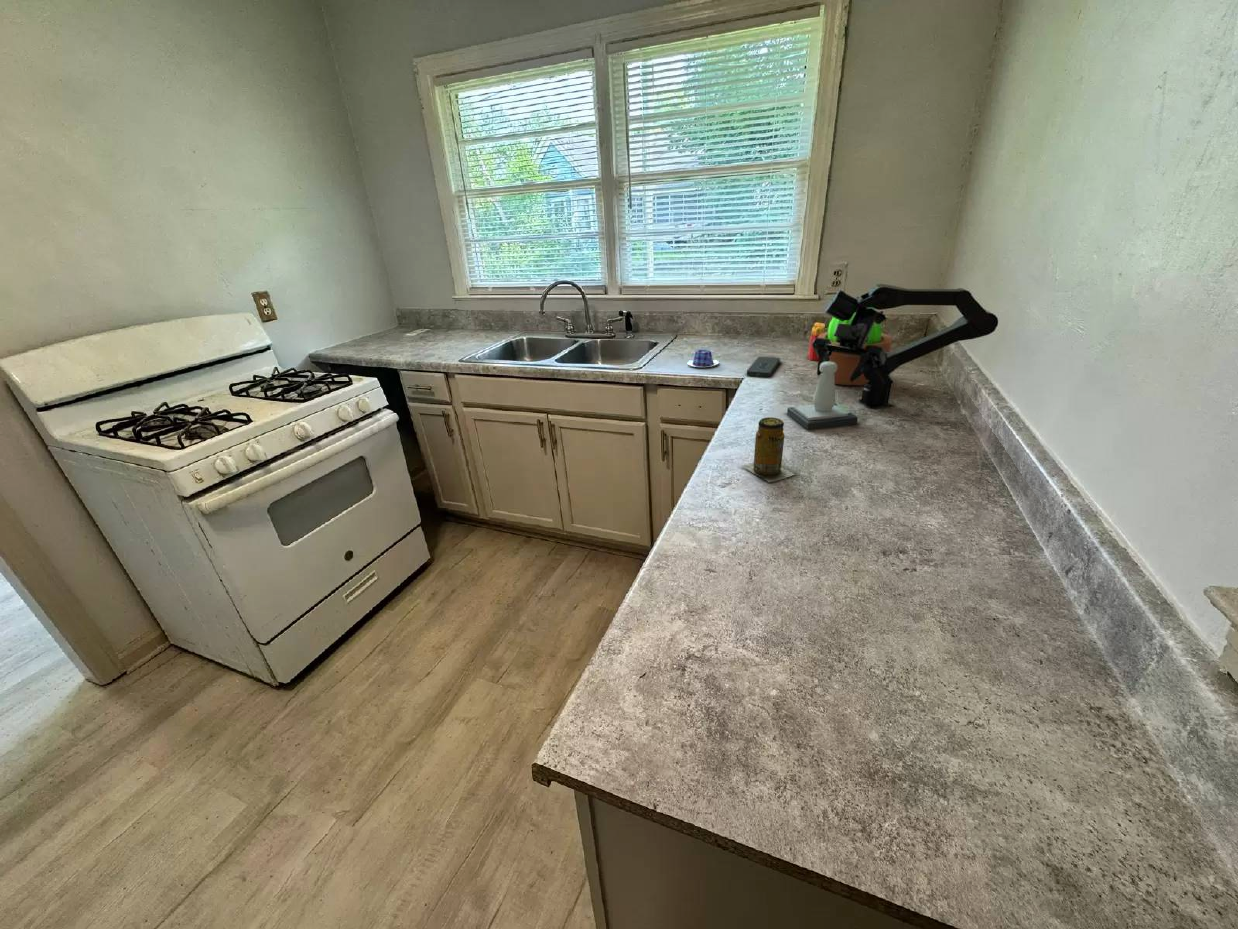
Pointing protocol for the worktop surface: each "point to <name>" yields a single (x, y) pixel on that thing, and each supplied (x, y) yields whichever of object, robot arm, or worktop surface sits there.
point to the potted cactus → (850, 362)
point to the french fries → (814, 334)
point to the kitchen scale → (821, 417)
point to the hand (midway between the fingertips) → (833, 377)
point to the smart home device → (763, 366)
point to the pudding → (703, 359)
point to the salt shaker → (825, 388)
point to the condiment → (769, 451)
